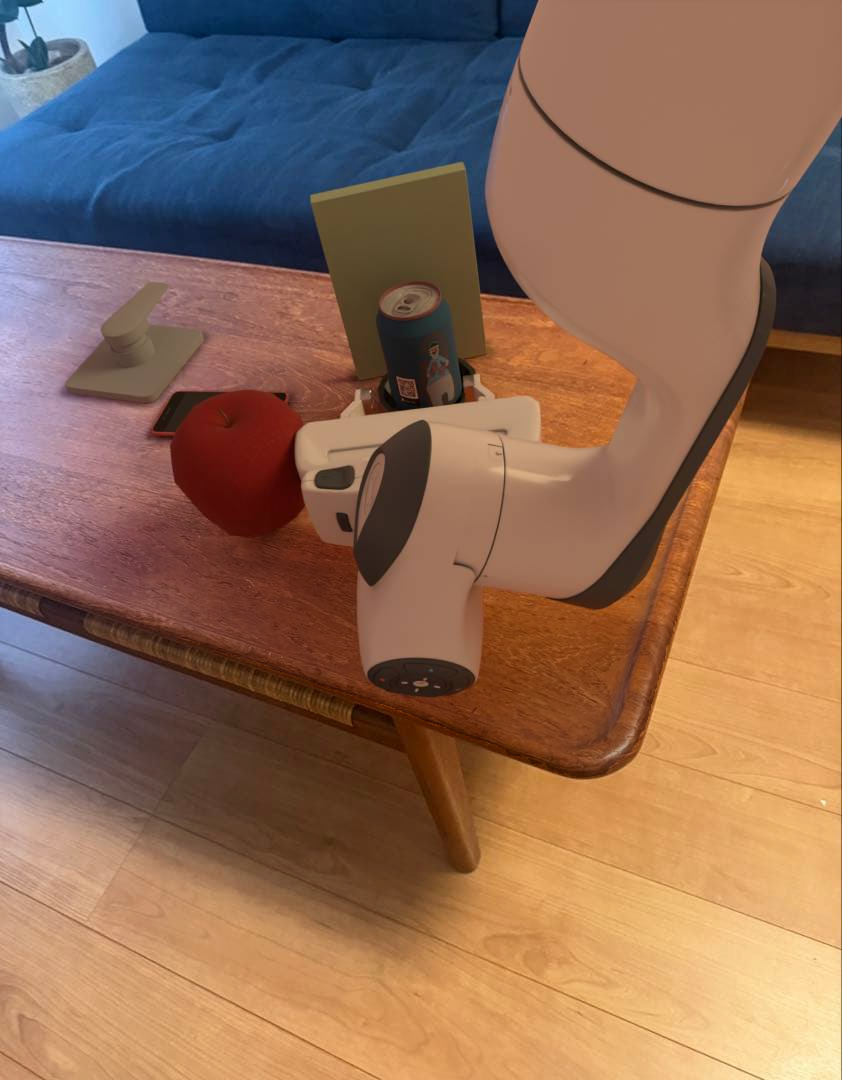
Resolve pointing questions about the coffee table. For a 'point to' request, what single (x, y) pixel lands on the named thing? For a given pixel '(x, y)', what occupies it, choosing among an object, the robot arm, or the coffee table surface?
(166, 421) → the smartphone
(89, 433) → the coffee table surface
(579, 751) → the coffee table surface
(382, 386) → the holder
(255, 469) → the apple
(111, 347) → the shower valve
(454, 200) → the olive green plank
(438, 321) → the soda can
